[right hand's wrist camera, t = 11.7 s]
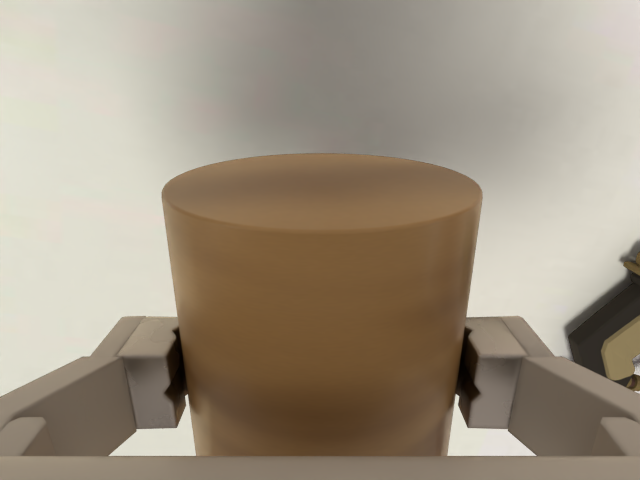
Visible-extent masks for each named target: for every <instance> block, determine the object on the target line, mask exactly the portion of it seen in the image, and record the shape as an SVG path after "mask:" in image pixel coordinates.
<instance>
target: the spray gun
mask: <svg viewBox="0 0 640 480" xmlns="http://www.w3.org/2000/svg"><path fill="white" fill-rule="evenodd" d="M636 263H637V264H636ZM636 263H633V262H630V261H626V262H624V265H623V266H624V267H626V268H627V269H629V270H631V271H633V272H634V273H633V274H631V280H632V281H633V282H634V283H633V284H632V285H630V286H629V287H628V288H627V289H625V290H624V291H623V292H621V293H620V294H619V295H618V296H616V297H615V298H614V299H613V300H611V301H610V302H609V303H608V304H606V305H605V306H604V307H603V308H601V309H600V310H599V311H598V312H597V313H595V314H594V315H593V316H592V317H590V318H589V319H588V320H587V321H586V322H584V323H583V324H582V325H581V326H580V327H578V328H577V329H576V330H575V331H573V332H572V333H571V334H570V335H569V336H568V338H569V342H570V346H571V350H572V354H573V358H574V361H575V363H576V364H578V365H580V366H582V367H585V368H587V369H589V370H591V371H593V372H595V373H597V374H599V375H601V376H603V377H605V378H607V379H609V380H611V381H613V382H616V383H618V384H620V385H622V386H624V387H626V388H628V389H630V390H632V391H640V376H639V375H635V374H633V373H634V371H635V367H634V365H633V362H632V359H633V358H634V357H636V356H637V355H639V354H640V252H639V253H638V254H637V257H636Z"/></svg>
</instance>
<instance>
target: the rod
mask: <svg viewBox="0 0 640 480" xmlns="http://www.w3.org/2000/svg"><path fill="white" fill-rule="evenodd" d="M482 198H483V197H482V190H481V188H480V186H479V185H478V184H477V183H476V182H475V181H474V180H472V179H470V178H469V177H467V176H465V175H463V174H461V173H458V172H456V171H453V170H450V169H447V168H444V167H441V166H437V165H433V164H428V163H424V162H419V161H413V160H407V159H400V158H393V157H384V156H373V155H359V154H334V153H309V154H284V155H270V156H259V157H250V158H243V159H236V160H230V161H224V162H219V163H215V164H210V165H206V166H203V167H199V168H196V169H193V170H190V171H187V172H185V173H183V174H181V175H178V176H176V177H175V178H173V179H171V180H170V181H169V182H168V183H167V184H166V185H165V186H164V188H163V190H162V203H163V211H164V218H165V226H166V233H167V241H168V248H169V256H170V263H171V271H172V278H173V286H174V293H175V301H176V308H177V316H178V323H179V331H180V338H181V346H182V353H183V361H184V368H185V376H186V383H187V391H188V398H189V406H190V413H191V420H192V428H193V435H194V443H195V450H196V456H447V453H448V445H449V438H450V431H451V424H452V416H453V409H454V402H455V395H456V387H457V380H458V373H459V365H460V358H461V351H462V344H463V336H464V329H465V322H466V314H467V307H468V300H469V293H470V285H471V278H472V271H473V264H474V256H475V249H476V242H477V234H478V227H479V220H480V213H481V205H482Z"/></svg>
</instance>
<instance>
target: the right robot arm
mask: <svg viewBox="0 0 640 480" xmlns="http://www.w3.org/2000/svg"><path fill="white" fill-rule="evenodd" d="M187 394H188V391H187V383H186V376H185V368H184V361H183V353H182V346H181V338H180V331H179V323H178V317H152V316H148V317H146V316H126V317H122V318H121V319H120V320H119V321H118V323H117V324H116V325H115V326H114V327H113V329H112V330H111V331H110V332H109V334H108V335H107V336H106V337H105V339H104V340H103V341H102V342H101V343H100V345H99V346H98V347H97V348H96V350H95V351H94V352H93V353H92V355H91V356H90V357H81V358H79V359H77V360H75V361H73V362H71V363H69V364H67V365H65V366H63V367H61V368H58V369H56V370H54V371H52V372H50V373H48V374H46V375H44V376H42V377H40V378H38V379H36V380H34V381H32V382H30V383H28V384H26V385H24V386H22V387H19V388H17V389H15V390H13V391H11V392H9V393H7V394H5V395H3V396H1V397H0V480H640V394H638V393H636V392H634V391H632V390H630V389H628V388H626V387H624V386H622V385H620V384H618V383H616V382H613V381H611V380H609V379H607V378H605V377H603V376H601V375H599V374H597V373H595V372H593V371H591V370H589V369H587V368H585V367H582V366H580V365H578V364H576V363H574V362H572V361H570V360H568V359H566V358H564V357H555V356H554V355H553V354H552V352H551V351H550V350H549V349H548V348H547V346H546V345H545V344H544V343H543V342H542V340H541V339H540V338H539V337H538V336H537V334H536V333H535V332H534V331H533V330H532V328H531V327H530V326H529V325H528V324H527V322H526V321H525V320H524V319H523V318H522V317H520V316H503V317H466V322H465V329H464V336H463V344H462V351H461V358H460V365H459V373H458V380H457V387H456V394H457V395H459V404H458V406H459V408H460V411H461V413H462V415H463V418H464V420H465V422H466V425H467V427H468V428H490V429H508V431H509V432H510V433H511V434H512V435H513V436H515V437H516V438H517V439H518V440H519V441H520V442H522V443H523V444H524V445H525V446H526V447H527V448H529V449H530V450H531V451H532V452H533V453H534V454H535V455H537V456H108V455H110V454H111V453H112V452H113V451H114V450H115V449H116V448H118V447H119V446H120V445H121V444H122V443H123V442H125V441H126V440H127V439H128V438H129V437H130V436H131V435H133V434H134V433H135V432H136V429H154V428H177V426H178V424H179V421H180V419H181V416H182V414H183V411H184V409H185V406H186V402H185V396H186V395H187Z"/></svg>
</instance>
